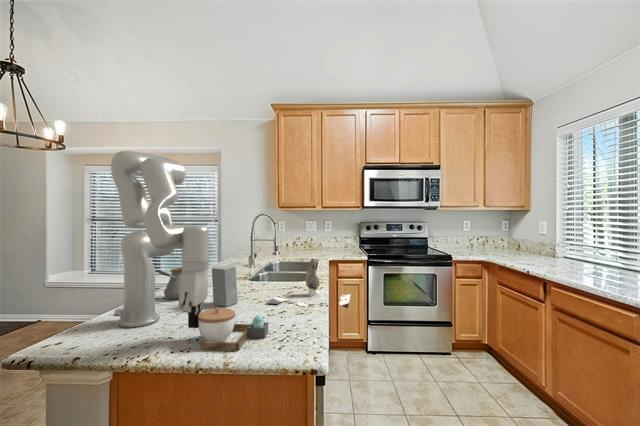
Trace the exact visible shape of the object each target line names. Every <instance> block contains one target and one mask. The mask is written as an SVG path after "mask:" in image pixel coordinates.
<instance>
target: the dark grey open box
mask: <svg viewBox="0 0 640 426" xmlns="http://www.w3.org/2000/svg"><path fill="white" fill-rule="evenodd" d="M250 324H251V325H250V326H249V327H248V338H247V339H265V338H266V337H267V335H268V333H269V322H268V321H267V322H266V321H265V322H264V327H253V321H252V322H251V323H250Z"/></svg>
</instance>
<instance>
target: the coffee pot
mask: <svg viewBox="0 0 640 426" xmlns="http://www.w3.org/2000/svg"><path fill="white" fill-rule="evenodd" d="M156 272H157V273H158V275H160V274H161V275H163V276H167V277H170V278H169V280H168V282H167V284H166V286H165V288H164V292H163V295H164V296H165V297H166V298H168V300H170V301H179V292H180V282H181V276H182V267H181V268H180V267H179V268H172V269H170V272H171V274H169V273H167V272H166V271H163V270H155V273H156Z"/></svg>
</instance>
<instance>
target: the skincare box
mask: <svg viewBox="0 0 640 426" xmlns="http://www.w3.org/2000/svg"><path fill="white" fill-rule="evenodd" d="M236 269H237V268H236V266H227V265H221V266H217V267H211V279H212V298H213V299H212V301H213V302H212V303H213V305H215V306H220V307H225V308H226V307H229V306H230V307H231V306H233V305H237V304H238V287H237V272H236V271H237V270H236Z"/></svg>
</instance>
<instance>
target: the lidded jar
mask: <svg viewBox="0 0 640 426" xmlns="http://www.w3.org/2000/svg"><path fill="white" fill-rule="evenodd" d="M235 322H236V311H235V310H234V309H231V308H226V307H225V308H221V307H220V308H219V307H215V308H211V309H207V310H204V311H201V313H200V314H199V315H198V326H199V327H198V330H199V334H200V336H201V337H202V338H203V339H204V340H205V342H226V340H228V338H229V337H230V336H231V334H232V332H234V331H233V328H234V324H236V323H235Z"/></svg>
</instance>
